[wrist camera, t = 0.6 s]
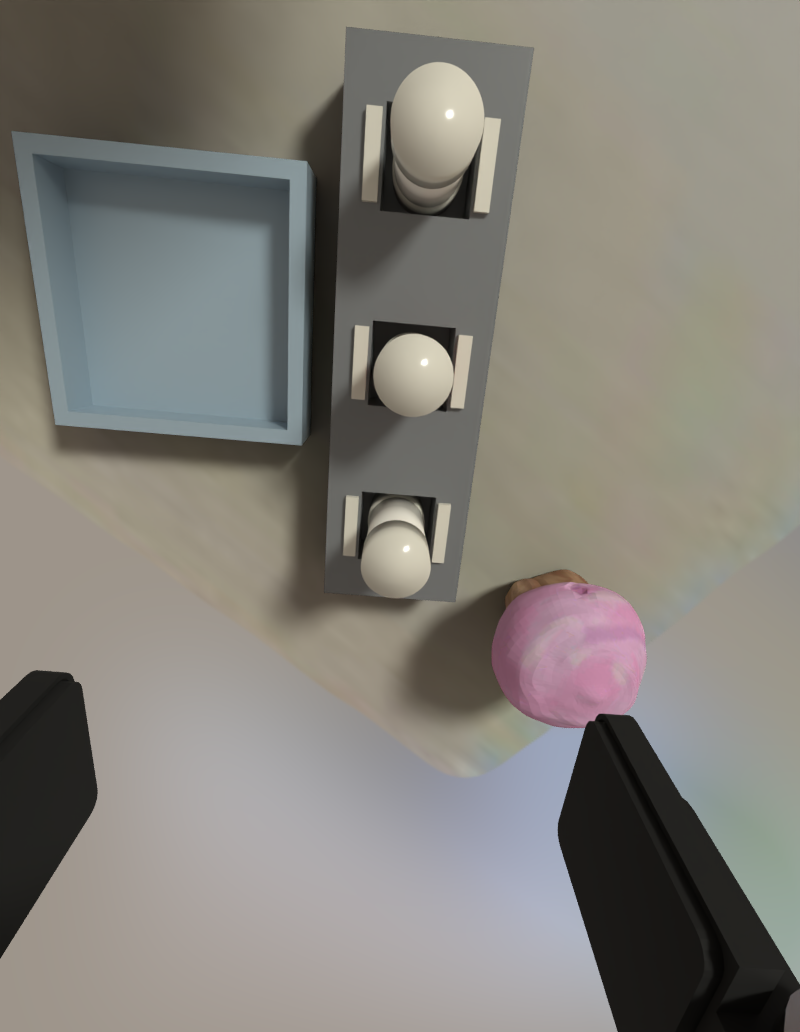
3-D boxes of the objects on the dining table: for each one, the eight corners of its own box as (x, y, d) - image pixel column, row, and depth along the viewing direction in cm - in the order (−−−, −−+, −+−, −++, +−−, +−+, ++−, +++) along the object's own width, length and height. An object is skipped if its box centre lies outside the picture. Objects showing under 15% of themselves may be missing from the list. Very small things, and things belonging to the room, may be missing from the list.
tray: (52, 151, 26) (11, 130, 23) (316, 178, 27) (307, 161, 24) (86, 415, 31) (55, 424, 28) (310, 434, 31) (301, 445, 29)
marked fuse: (382, 329, 28) (376, 330, 21) (442, 334, 28) (458, 338, 21) (377, 391, 30) (370, 413, 22) (435, 396, 30) (448, 420, 22)
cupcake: (597, 647, 37) (665, 756, 28) (478, 656, 37) (505, 767, 28) (604, 535, 34) (684, 615, 25) (474, 545, 34) (503, 627, 25)
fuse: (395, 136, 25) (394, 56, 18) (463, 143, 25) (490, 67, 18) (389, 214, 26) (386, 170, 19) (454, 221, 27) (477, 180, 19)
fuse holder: (353, 71, 25) (345, 22, 21) (513, 88, 25) (535, 44, 21) (332, 563, 35) (323, 595, 30) (449, 572, 35) (455, 604, 31)
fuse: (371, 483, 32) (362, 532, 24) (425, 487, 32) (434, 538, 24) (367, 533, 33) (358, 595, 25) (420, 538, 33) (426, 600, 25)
